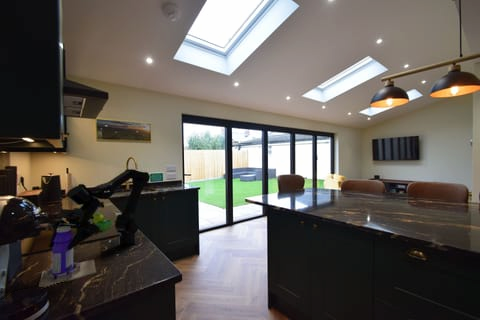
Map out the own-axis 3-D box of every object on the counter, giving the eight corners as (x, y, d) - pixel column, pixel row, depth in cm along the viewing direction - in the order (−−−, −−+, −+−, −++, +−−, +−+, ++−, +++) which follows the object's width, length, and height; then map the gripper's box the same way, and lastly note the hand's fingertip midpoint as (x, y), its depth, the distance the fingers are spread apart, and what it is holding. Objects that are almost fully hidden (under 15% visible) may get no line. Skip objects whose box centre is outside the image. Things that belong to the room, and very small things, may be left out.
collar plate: (93, 260, 90) (93, 254, 90) (96, 273, 79) (96, 266, 79) (42, 273, 80) (42, 266, 80) (37, 289, 69) (38, 281, 70)
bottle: (57, 270, 80) (58, 225, 80) (75, 268, 82) (76, 223, 82) (48, 280, 73) (49, 231, 73) (68, 277, 75) (68, 229, 75)
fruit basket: (113, 227, 136) (113, 210, 136) (102, 232, 127) (102, 213, 127) (97, 227, 137) (97, 209, 138) (85, 231, 129) (86, 213, 129)
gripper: (54, 199, 84) (20, 236, 73) (93, 201, 80) (63, 240, 69) (73, 214, 91) (45, 249, 80) (110, 216, 87) (85, 254, 77)
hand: (58, 248), depth 76 cm, fingers open, 8 cm apart
